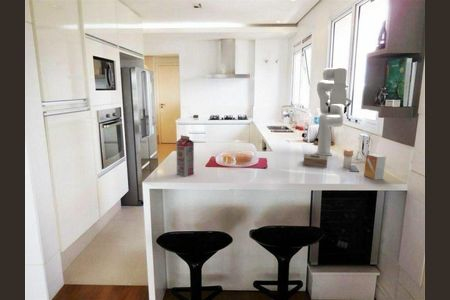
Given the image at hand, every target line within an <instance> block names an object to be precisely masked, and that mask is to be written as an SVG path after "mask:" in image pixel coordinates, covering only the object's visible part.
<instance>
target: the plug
mask: <svg viewBox="0 0 450 300" xmlns="http://www.w3.org/2000/svg"><path fill="white" fill-rule="evenodd" d="M353 156H354V150H351V149H343V163H342V167H343V168H345V169H348V168H351V165H352V159H353Z"/></svg>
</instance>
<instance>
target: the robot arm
mask: <svg viewBox="0 0 450 300" xmlns="http://www.w3.org/2000/svg"><path fill="white" fill-rule="evenodd" d="M347 74H348V68H346V67H343V66H341V67H340V66H339V67H331V68H330V67H328V68H327V67H326V68H325V69H324V70H323V73H322V78H323V80H320V81H319V82H317V85H316V92H317V95H318V97H319V107H320V115H319V118H318V125H319V126H318V127H319V128H318V129H319V130H318V138H317V139H318V142H317V143H318V144H317V151H315V153H314V155H325V156H326V157H327V156H332V155H333V153H332V152H331V145H332V135H333V132H332V130H331V129H330V127H332V128H333V127H334V128H336V127H337V128H340V127H342V125H343V124H344V117H343V114H346V113H347V110H348V108H349V106H350V105H351V104H352V103H353V101H352V99H349V98H348V97H347V96H348V95H347V92H348V91H347V89H346V88H349V85H348V84H346V83H347V76H348V75H347ZM328 92H330V94H329V93H328ZM347 102H348V103H347ZM343 106H344V107H343Z"/></svg>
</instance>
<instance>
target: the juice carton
mask: <svg viewBox="0 0 450 300" xmlns="http://www.w3.org/2000/svg"><path fill="white" fill-rule="evenodd" d="M194 146H195V142H194V141H193V140H192V139H190V136H187V135H180V138H179V139H178V140H177V141H176V175H177V176H180V177H183V178H187V177H190V176H193V175H194V172H195V171H194V168H195V167H194V164H195V161H194V159H195V157H194V155H195V153H194V151H195V150H194Z"/></svg>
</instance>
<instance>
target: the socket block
mask: <svg viewBox="0 0 450 300" xmlns="http://www.w3.org/2000/svg"><path fill="white" fill-rule="evenodd" d="M327 164H328V159H327V156H325V155H318V154H310V153H308V154H306V153H304V154H303V167H314V168H325V169H326V168H327Z"/></svg>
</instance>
